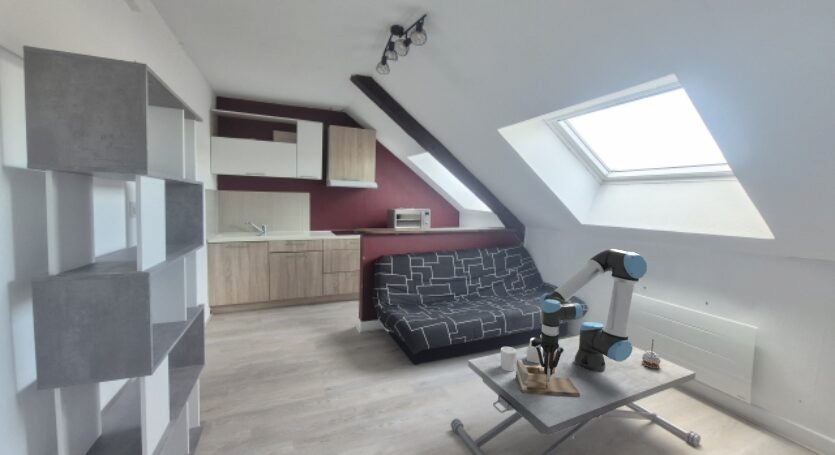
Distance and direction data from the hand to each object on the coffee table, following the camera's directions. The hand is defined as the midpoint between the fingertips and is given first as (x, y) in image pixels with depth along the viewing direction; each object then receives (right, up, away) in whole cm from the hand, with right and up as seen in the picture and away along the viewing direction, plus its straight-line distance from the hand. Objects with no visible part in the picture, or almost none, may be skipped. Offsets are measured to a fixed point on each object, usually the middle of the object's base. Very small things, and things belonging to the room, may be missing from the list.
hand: (547, 380), depth 162 cm
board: (0, -3, 0) cm, 3 cm away
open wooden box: (-7, -1, +1) cm, 7 cm away
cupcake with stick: (+66, -3, +24) cm, 71 cm away
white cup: (-14, -1, +17) cm, 22 cm away
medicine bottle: (+3, -1, +27) cm, 27 cm away
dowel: (+7, -2, +15) cm, 17 cm away
